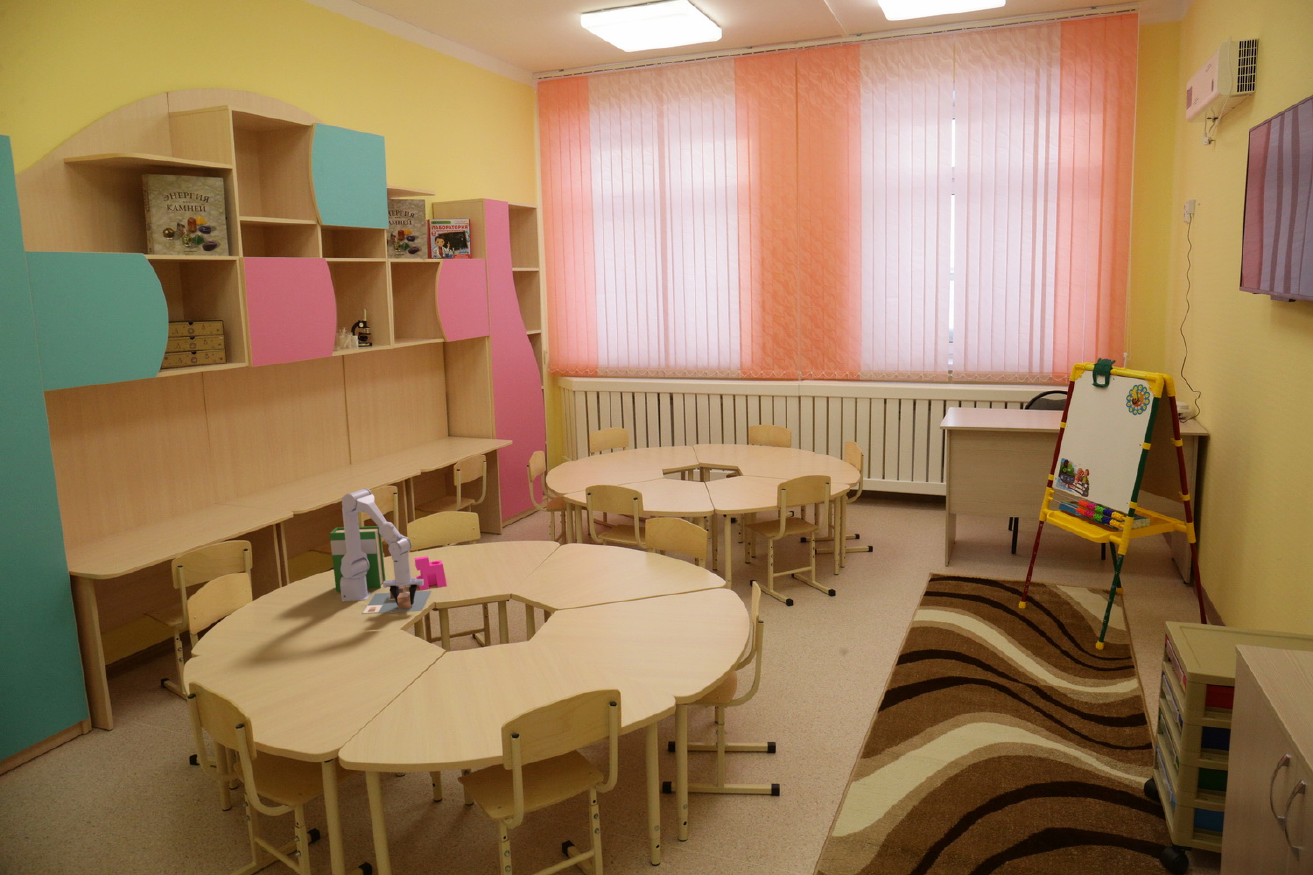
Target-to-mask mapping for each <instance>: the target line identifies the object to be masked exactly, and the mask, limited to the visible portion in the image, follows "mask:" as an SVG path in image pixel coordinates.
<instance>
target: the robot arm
mask: <svg viewBox="0 0 1313 875" xmlns="http://www.w3.org/2000/svg"><path fill="white" fill-rule="evenodd" d="M341 505H342V508H341V510H342V521H343V527H344V532H345V541H346V551H347V553H346V554H345V556H344V557H343V558H342V560H341V561H342V564H341V573H342V575H343V577H342V578H341V581H340V588H341V591H340V594H341V595H340V596H341V597H340V598H341V602H342V603H344V602H350V601H352V602H353V601H366V600H368V598H369V596H370V595H371V593H372V592H371V591H368V589H367V582H366V574H367V571H368V569H369V561H368V559H367V554H366V553H364V552H362V551H361V541H360V531H359V527H360V523H359V522H360V521H359V514H358V513H366V514H367V516H369V518H370V519H371V520H372V522H374V523H375V524H376V526H379V533H380V534H381V538H383V540H384V541H385V542H386V544H388V552H389V554H390V555H391V559H392V563H393V569H394V570H393V571H394V572H393V573H394V579H391V580H386V581H384V582H383V583H382V586H383V587H382V588H383V589H384V588H389V593H390V592H391V593H392V595H393V596H394V598H395V600H396V603H397V605H398V600H397V597H398V596H399V587H401V586H406V587H408V592H410V601H411V605H413V603H414V596H415V592H416V591H417V588H418V587H419V585H420V586H423V584H424V581H423V579H417V578H413V577H412V574H411V566H410V562H411V561H410V554H409V551H411V549H412V542H411V540H410V539H409V537H407V536H404V535H403V534H401V533H400V532H399V530H398V528H396V526H395V525H394V524H393V523H392V522H390V521H387V520H386V518H385V517H384V515H383V513H382V512H381V510H380V509H379V507H378V506H377V504H376V503H375V495H374V494H373V492H372V490H370V489H369V488H366V487H363V488H362V489H359V490H356V491H353V492H349V493H346V494H344V495H343V496H342V498H341Z"/></svg>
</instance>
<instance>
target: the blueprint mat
mask: <svg viewBox="0 0 1313 875" xmlns="http://www.w3.org/2000/svg"><path fill="white" fill-rule="evenodd" d="M406 592H407V593H410V592H409V591H406ZM431 594H432V590H420V591H418V590H416V592H415V596H414V603H413V605H412V607H411V608H407V609H398V605H397V603H396V600H395V599H391V597H390V592H381V593H374V595H372V597H371V599H370V601H369V602H368V603H367V606H365V608H364V610H363V611H362V613H361V614H362V615H366V614H368V615H369V614H384V613H385V614H386V613H402V612H418V611H419V612H420V611H423V609H424V608H425V605H426V604H427V601H428V599H429V598H430V595H431Z"/></svg>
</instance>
